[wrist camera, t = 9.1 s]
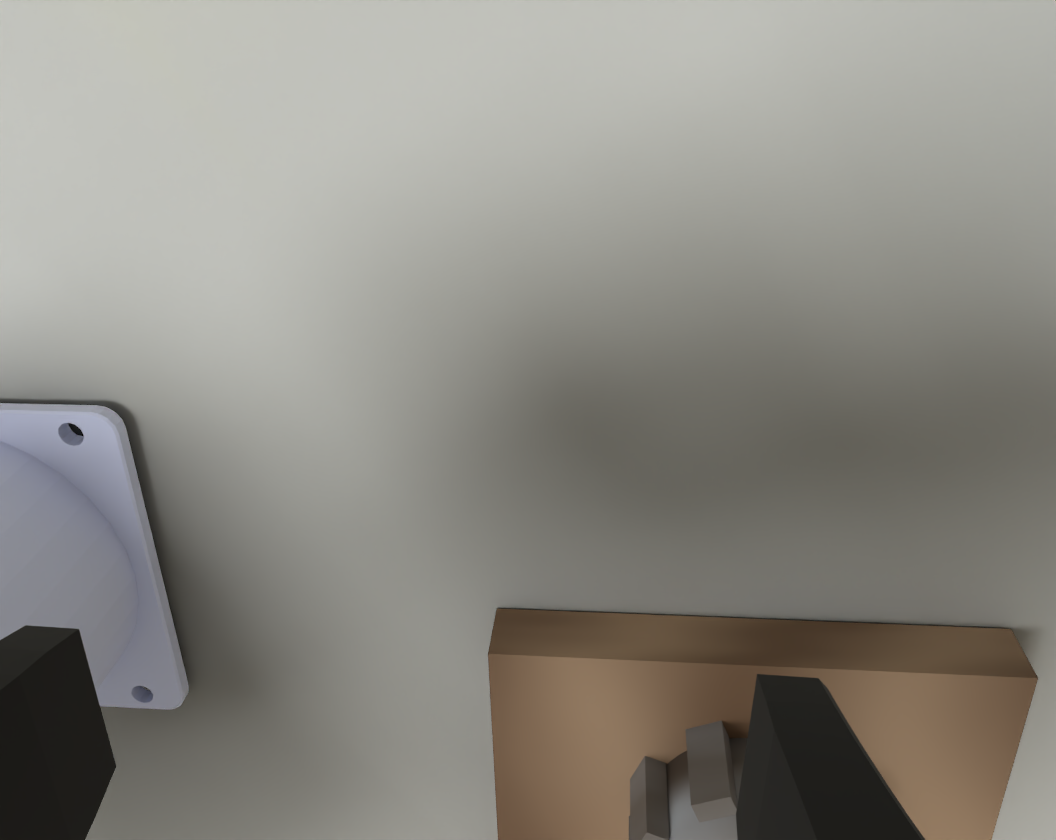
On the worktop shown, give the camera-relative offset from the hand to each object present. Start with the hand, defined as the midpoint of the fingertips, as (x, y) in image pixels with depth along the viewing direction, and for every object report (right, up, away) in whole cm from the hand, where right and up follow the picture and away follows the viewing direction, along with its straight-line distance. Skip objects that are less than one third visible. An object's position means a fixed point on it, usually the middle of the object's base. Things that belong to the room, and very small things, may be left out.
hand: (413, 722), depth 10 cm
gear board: (+6, -10, +15) cm, 19 cm away
